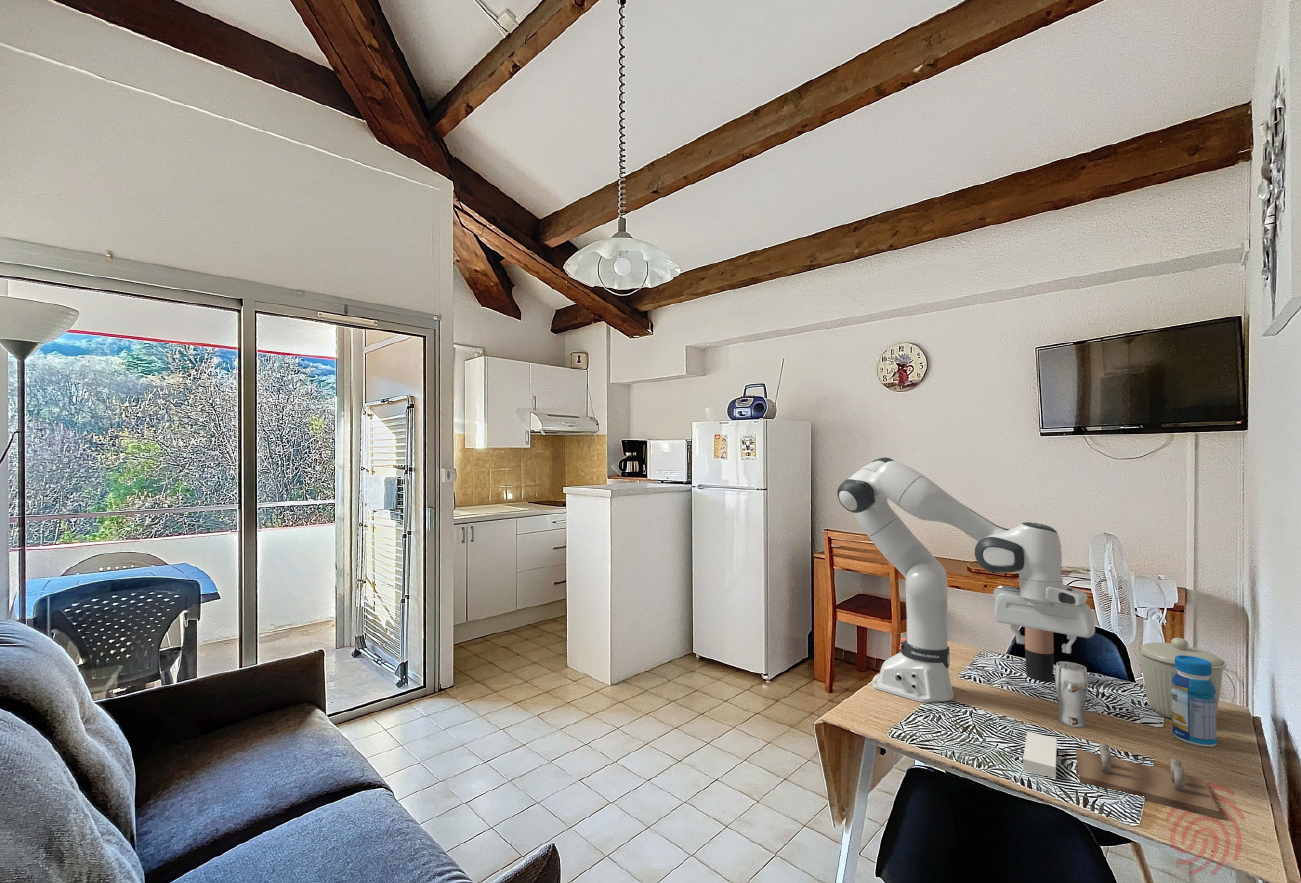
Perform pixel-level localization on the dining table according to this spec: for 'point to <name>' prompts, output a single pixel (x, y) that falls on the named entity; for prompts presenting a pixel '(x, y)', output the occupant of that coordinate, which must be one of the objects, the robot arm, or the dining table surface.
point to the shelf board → (1040, 755)
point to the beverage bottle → (1193, 702)
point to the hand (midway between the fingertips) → (1043, 648)
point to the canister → (1171, 671)
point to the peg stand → (1147, 781)
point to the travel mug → (1039, 654)
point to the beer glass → (1071, 693)
